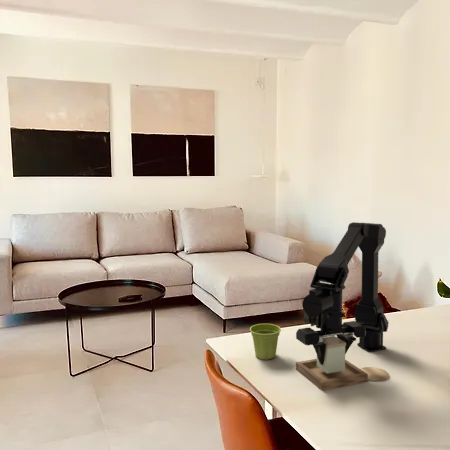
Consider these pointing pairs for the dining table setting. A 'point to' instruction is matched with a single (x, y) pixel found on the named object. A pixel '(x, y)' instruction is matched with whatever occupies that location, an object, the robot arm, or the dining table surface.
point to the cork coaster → (375, 373)
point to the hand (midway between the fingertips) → (330, 362)
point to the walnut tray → (331, 375)
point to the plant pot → (265, 340)
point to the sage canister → (333, 355)
